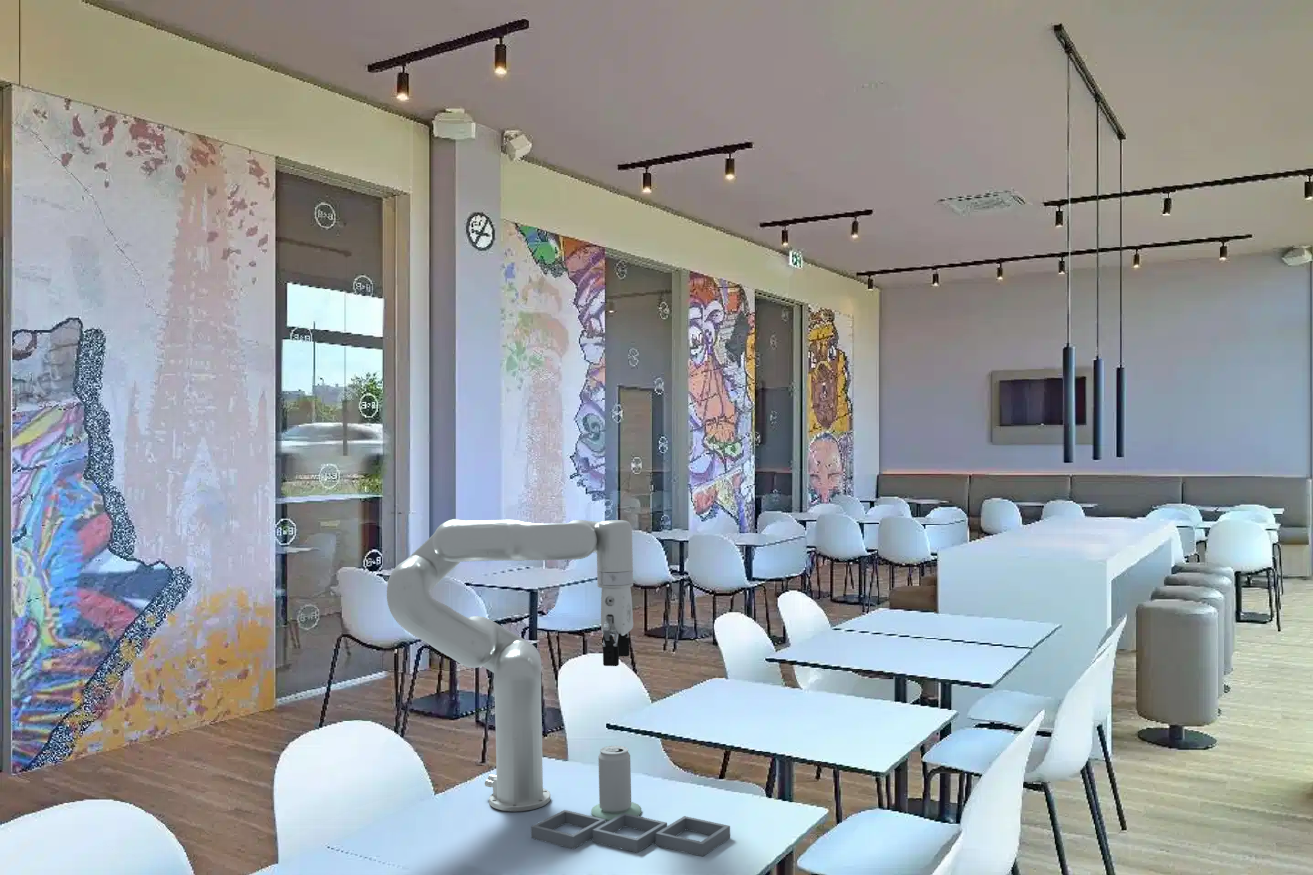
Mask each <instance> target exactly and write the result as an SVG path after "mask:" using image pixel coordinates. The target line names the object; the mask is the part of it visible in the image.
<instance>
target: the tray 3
mask: <svg viewBox="0 0 1313 875" xmlns="http://www.w3.org/2000/svg"><path fill="white" fill-rule="evenodd" d="M684 831H690V832H694V833H699V834H703V835H707V836H708V837H706V838H704V839H703V840H701V841H699V840H695V839H690V838H687V837H681V836H678V835H680V834H682V833H683V832H684ZM729 839H731V825H726V824H723V823H718V822H714V821H709V820H705V819H699V818H695V817H691V816H690V817H689V816H686V815H684V816H682V817H680V818H679V819H677V820H675V821H673V822H672V823H670V824H669V825H668V824H667V827H665V828H663V829H662V830H660V831H658V832H657V833H656V842H655V846H657V847H661V848H666V849H670V850H674V851H678V852H682V853H687V854H691V855H694V856H699V857H705V856H706V855H707V854H709V853H710V852H712V851H713V850H715V849H716V848H718V847H720V846H721V845H722V844H724V843H725V842H726V841H729ZM714 848H715V849H714Z"/></svg>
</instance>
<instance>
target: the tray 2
mask: <svg viewBox="0 0 1313 875" xmlns="http://www.w3.org/2000/svg"><path fill="white" fill-rule="evenodd" d="M667 826H668V822H667V821H662V820H658V819H657V820H656V819H653V818H647V817H643V816H640V815H639V816H635V815H631V814H626V813H623V814H621V815H619V816H617V817H615V818H613V819H612V820H610V821H606V823H604V824H602V825H601V826H599V827H597V828H595V829H593V838H592V842H593V843H595V844H600V845H604V846H607V847H608V846H609V847H613V848H617V849H620V848H622V849H621V850H624V849H625V851H628V850H629V851H628V852H632V851H633V853H639V852H641V851H642V850H645V849H646V848H647V847H649V846H651V845H652V844H654V843H656V833H657V832H658V831H660V830H662V829H663V828H665V827H667ZM625 827H626V828H629V829H633V828H635V829H634V830H639V831H642V832H644V833H642V834H641V835H639V836H637V837H633V836H629V835H626V834H625V835H624V834H620V833H616V832H617V831H619V829H620V830H621V829H624V828H625Z"/></svg>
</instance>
